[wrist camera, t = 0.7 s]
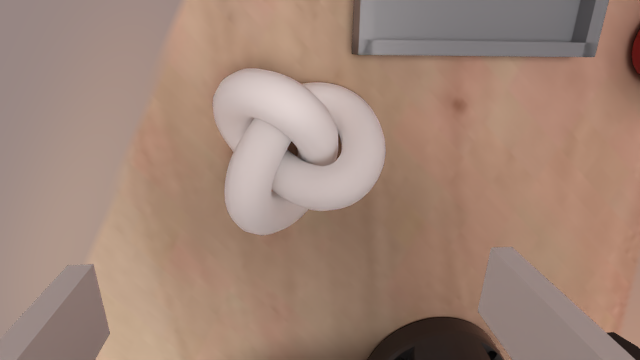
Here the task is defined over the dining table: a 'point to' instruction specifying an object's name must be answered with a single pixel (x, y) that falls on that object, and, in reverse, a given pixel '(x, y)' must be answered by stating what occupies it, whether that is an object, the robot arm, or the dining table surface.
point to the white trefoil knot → (310, 139)
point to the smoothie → (636, 53)
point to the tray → (478, 27)
